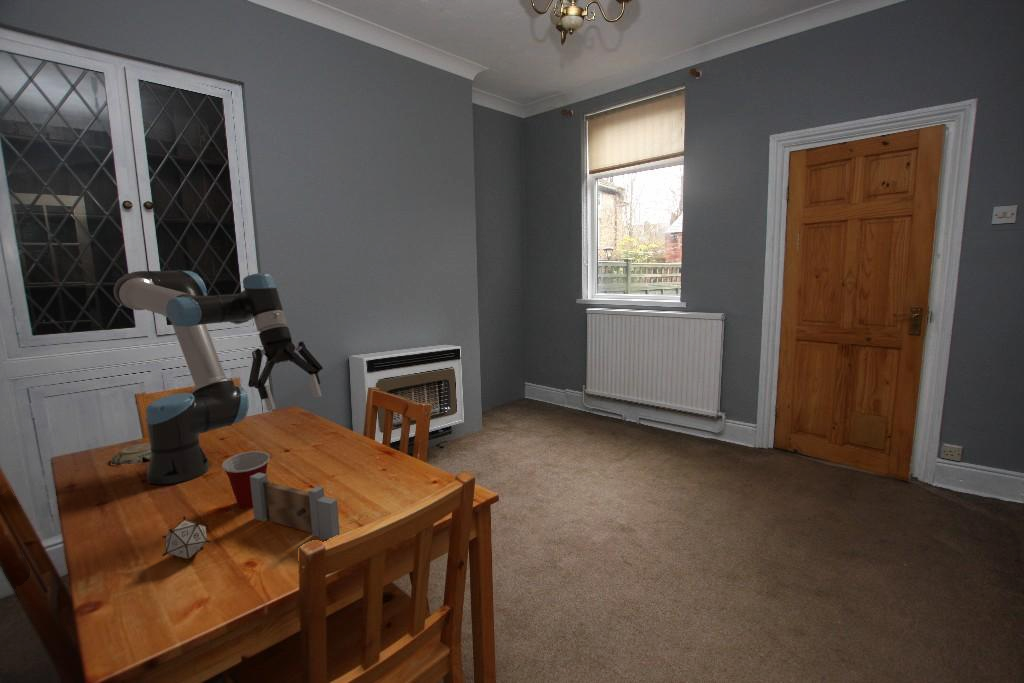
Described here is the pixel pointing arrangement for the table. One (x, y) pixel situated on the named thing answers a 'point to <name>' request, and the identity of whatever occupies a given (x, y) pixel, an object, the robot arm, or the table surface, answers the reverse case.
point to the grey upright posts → (320, 508)
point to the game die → (186, 539)
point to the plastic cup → (245, 474)
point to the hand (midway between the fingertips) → (296, 403)
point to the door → (287, 506)
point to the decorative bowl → (132, 454)
